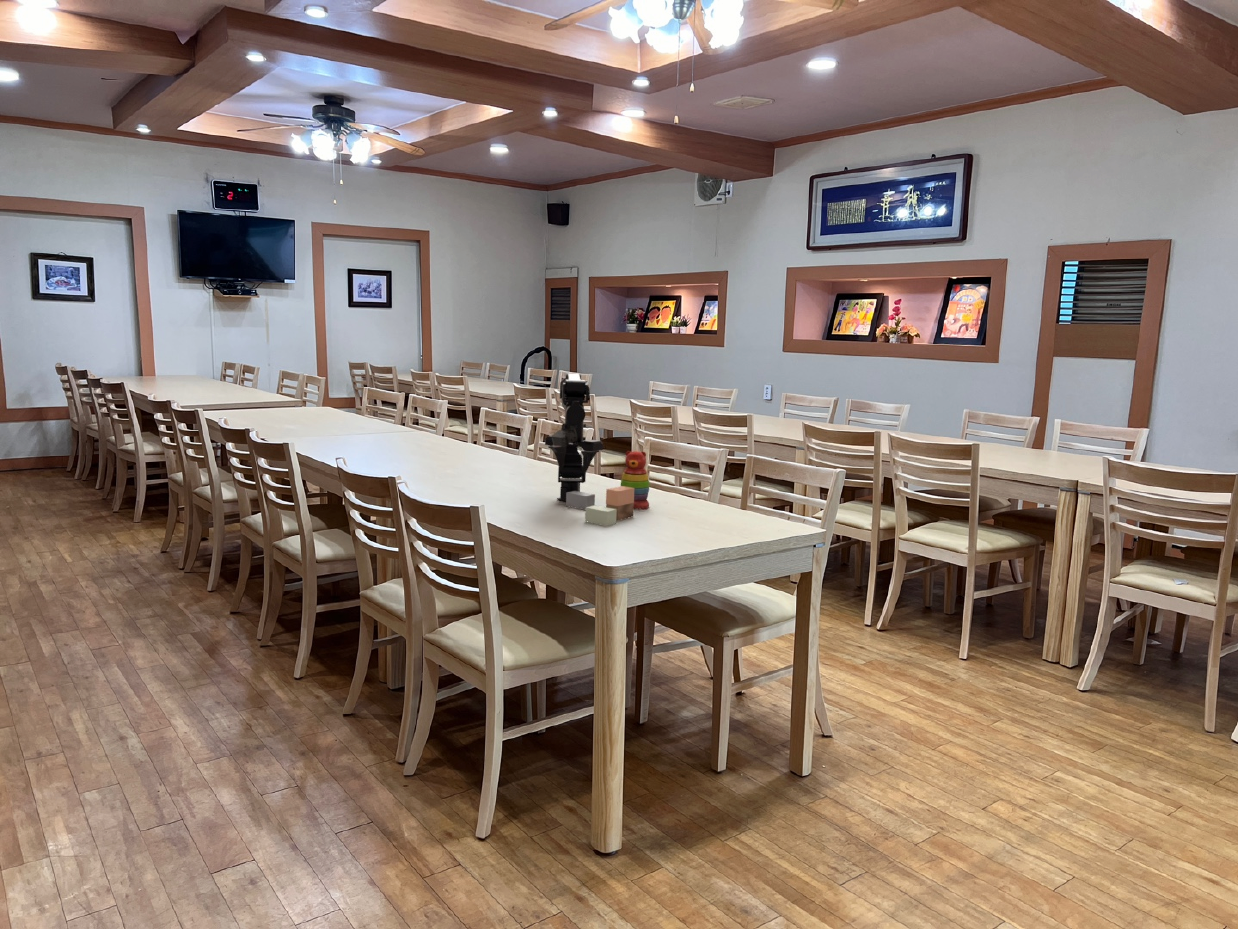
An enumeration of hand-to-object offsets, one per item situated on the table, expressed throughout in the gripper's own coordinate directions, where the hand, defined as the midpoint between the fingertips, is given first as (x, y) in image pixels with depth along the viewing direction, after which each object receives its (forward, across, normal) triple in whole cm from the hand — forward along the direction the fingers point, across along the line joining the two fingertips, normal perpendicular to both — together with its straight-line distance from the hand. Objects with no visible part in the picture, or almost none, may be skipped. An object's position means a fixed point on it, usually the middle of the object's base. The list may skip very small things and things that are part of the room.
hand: (572, 470), depth 271 cm
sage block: (+13, +17, -8) cm, 23 cm away
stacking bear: (+13, +10, +20) cm, 26 cm away
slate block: (+13, -1, +6) cm, 14 cm away
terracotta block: (+8, +17, +2) cm, 19 cm away
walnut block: (+13, +17, +2) cm, 21 cm away
